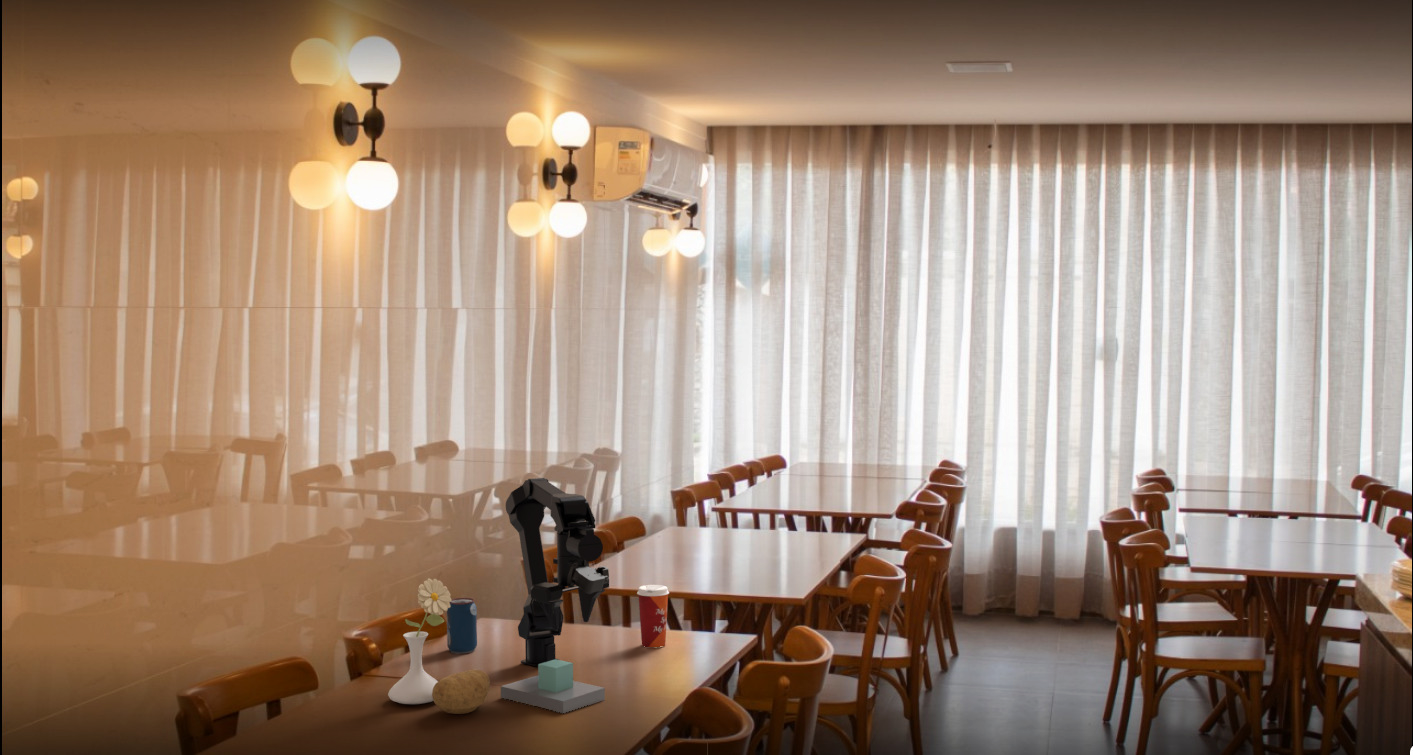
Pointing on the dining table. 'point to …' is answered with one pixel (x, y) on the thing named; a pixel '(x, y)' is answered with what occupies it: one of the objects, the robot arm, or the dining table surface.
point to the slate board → (553, 695)
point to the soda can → (462, 625)
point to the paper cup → (653, 614)
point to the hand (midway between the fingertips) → (570, 625)
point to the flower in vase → (421, 646)
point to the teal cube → (555, 675)
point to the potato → (461, 691)
